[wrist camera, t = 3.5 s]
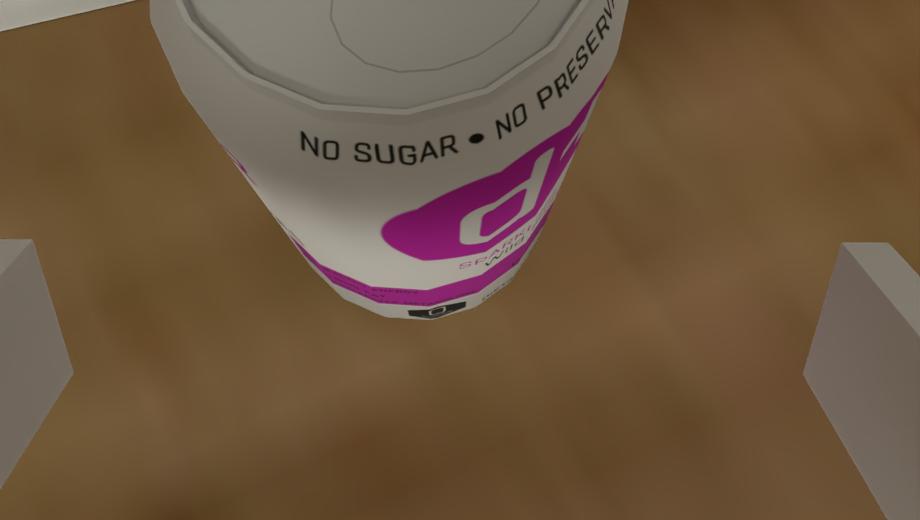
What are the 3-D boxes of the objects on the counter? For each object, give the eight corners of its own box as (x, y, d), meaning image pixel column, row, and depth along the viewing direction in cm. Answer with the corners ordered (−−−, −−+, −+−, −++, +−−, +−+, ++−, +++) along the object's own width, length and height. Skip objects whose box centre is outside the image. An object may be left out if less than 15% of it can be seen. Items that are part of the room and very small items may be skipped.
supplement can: (591, 226, 27) (765, -48, 12) (387, 374, 25) (306, 269, 11) (446, 45, 28) (446, -395, 13) (247, 177, 27) (8, -150, 12)
